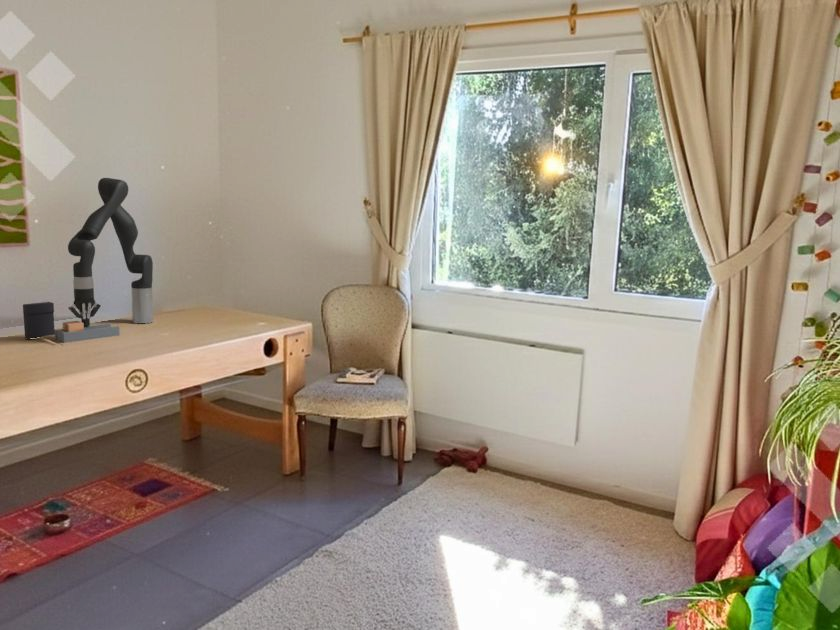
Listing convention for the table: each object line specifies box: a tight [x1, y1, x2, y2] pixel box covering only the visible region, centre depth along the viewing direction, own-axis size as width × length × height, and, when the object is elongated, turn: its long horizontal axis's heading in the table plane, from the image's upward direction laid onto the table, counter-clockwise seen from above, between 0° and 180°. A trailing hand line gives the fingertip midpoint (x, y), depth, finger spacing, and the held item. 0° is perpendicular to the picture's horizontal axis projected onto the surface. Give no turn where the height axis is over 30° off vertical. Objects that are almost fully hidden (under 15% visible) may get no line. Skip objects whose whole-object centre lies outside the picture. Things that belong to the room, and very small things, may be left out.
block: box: [62, 320, 84, 332], centre depth 277 cm, size 6×6×7 cm
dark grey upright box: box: [22, 301, 55, 340], centre depth 280 cm, size 11×4×15 cm, turn 145°
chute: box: [54, 323, 120, 346], centre depth 282 cm, size 12×26×5 cm, turn 140°
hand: (85, 327), depth 280 cm, fingers closed
